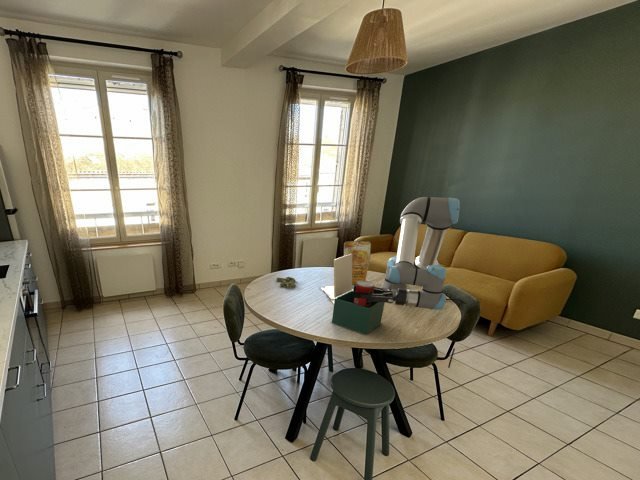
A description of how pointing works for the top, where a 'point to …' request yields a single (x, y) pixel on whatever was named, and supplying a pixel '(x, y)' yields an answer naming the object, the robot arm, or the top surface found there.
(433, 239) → the robot arm
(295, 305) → the top surface
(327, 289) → the tray
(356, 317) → the tote
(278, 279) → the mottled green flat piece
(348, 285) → the lid
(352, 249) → the pancake mix bag
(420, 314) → the top surface
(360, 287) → the canned food
